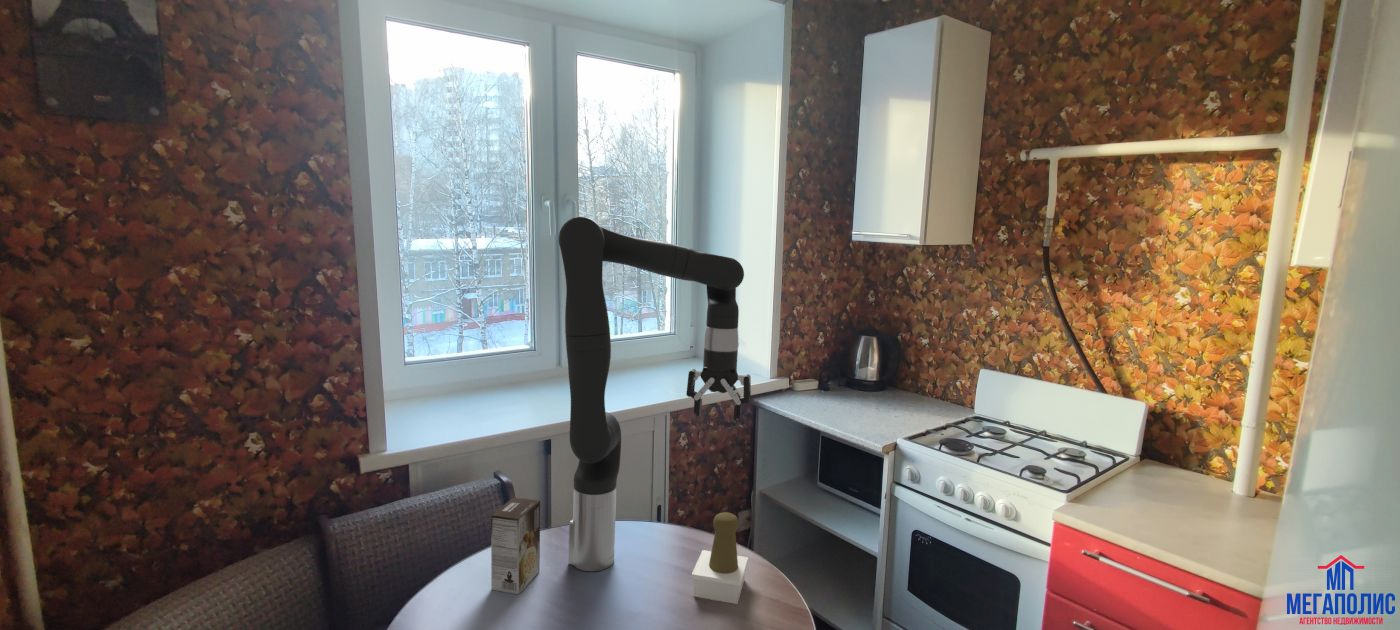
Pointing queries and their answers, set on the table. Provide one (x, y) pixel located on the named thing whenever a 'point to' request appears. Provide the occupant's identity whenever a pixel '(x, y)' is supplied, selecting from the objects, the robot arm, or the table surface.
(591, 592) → the table surface
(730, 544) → the cork
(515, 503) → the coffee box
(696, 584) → the podium
